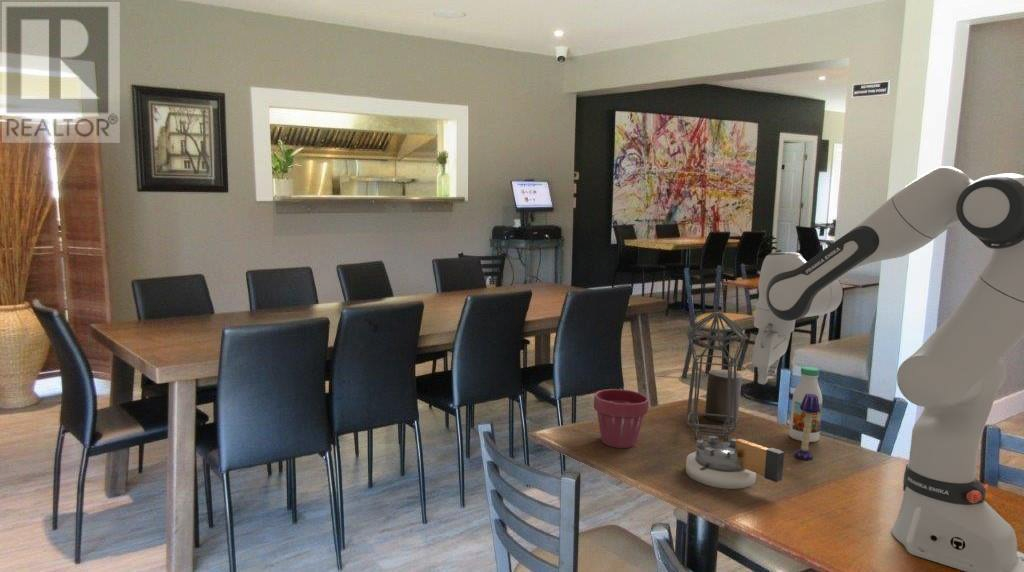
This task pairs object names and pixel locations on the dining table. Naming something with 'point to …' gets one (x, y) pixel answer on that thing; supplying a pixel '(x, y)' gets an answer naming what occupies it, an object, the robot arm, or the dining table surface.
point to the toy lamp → (807, 424)
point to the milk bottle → (804, 387)
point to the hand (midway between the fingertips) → (766, 378)
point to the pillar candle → (721, 394)
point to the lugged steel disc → (740, 457)
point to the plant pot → (620, 416)
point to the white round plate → (718, 475)
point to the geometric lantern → (742, 336)
